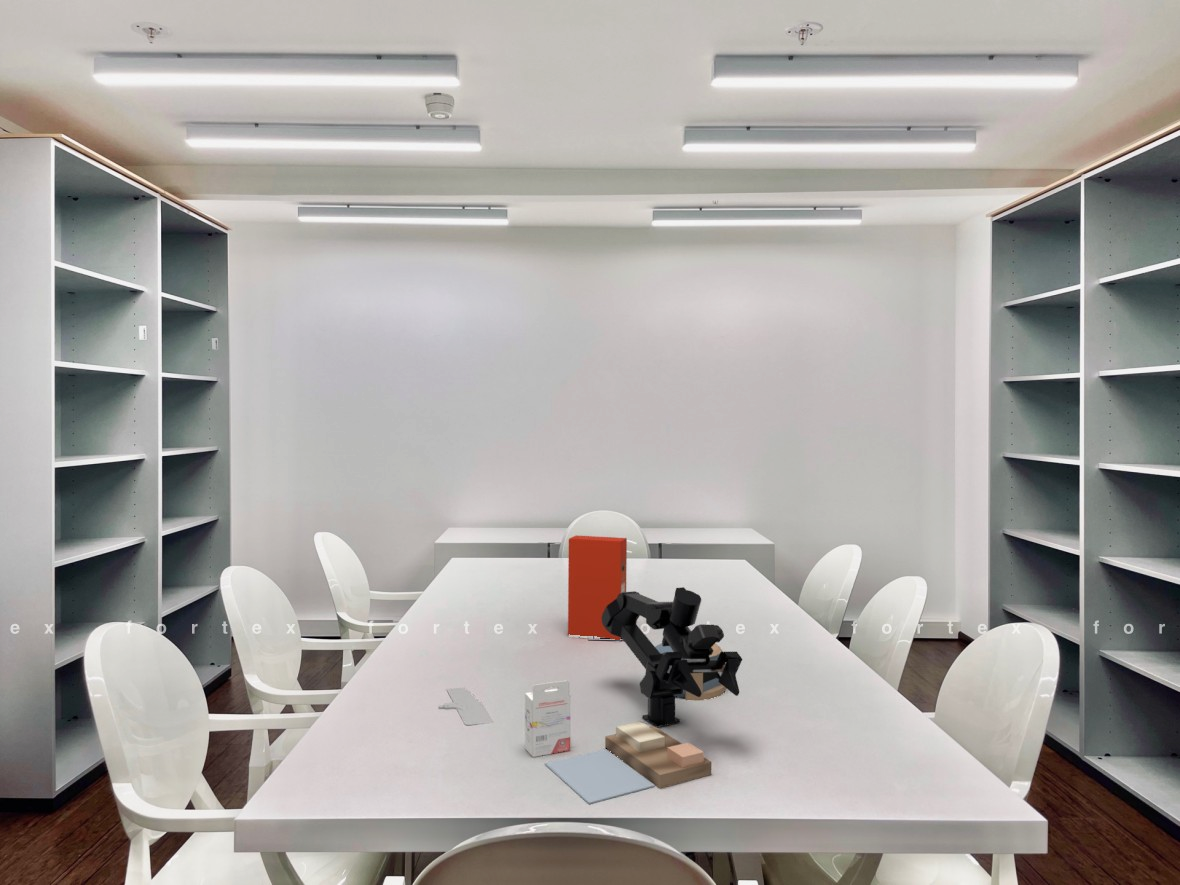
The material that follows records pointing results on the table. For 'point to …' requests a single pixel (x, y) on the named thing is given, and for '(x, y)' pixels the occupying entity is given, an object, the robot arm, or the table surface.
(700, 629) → the robot arm
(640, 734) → the birch tile
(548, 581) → the table surface
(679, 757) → the terracotta tile
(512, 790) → the table surface
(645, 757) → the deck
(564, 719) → the ink cartridge box
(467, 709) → the grey flat piece
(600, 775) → the mat
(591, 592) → the file binder
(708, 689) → the alarm clock
